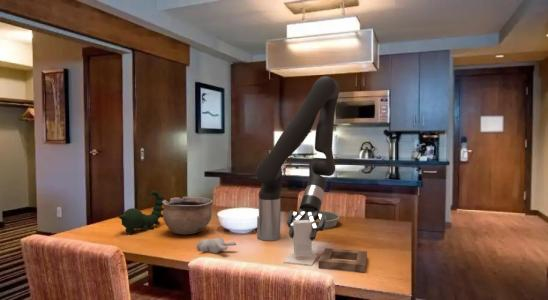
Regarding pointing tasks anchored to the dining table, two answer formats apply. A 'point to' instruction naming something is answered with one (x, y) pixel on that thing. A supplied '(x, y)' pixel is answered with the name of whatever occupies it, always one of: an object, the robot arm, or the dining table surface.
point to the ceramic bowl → (187, 214)
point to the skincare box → (302, 237)
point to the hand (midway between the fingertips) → (301, 238)
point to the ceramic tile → (300, 259)
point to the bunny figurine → (213, 245)
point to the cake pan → (330, 217)
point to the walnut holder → (343, 265)
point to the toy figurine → (143, 216)
